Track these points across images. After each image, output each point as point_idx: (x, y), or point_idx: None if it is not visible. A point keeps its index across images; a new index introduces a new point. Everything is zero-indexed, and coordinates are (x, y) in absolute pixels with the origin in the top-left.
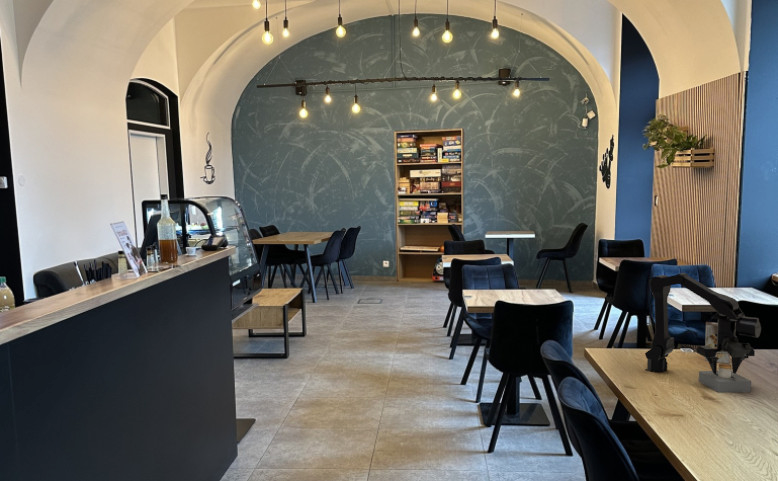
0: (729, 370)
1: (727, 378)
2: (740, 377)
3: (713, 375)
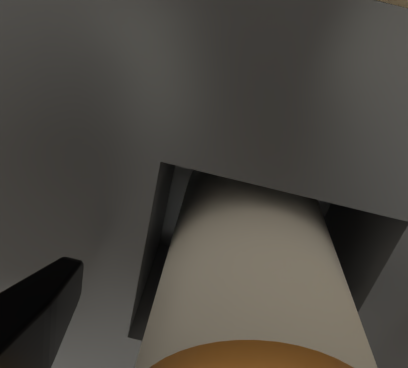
0: (255, 308)
1: (331, 183)
2: (53, 150)
3: (399, 344)
